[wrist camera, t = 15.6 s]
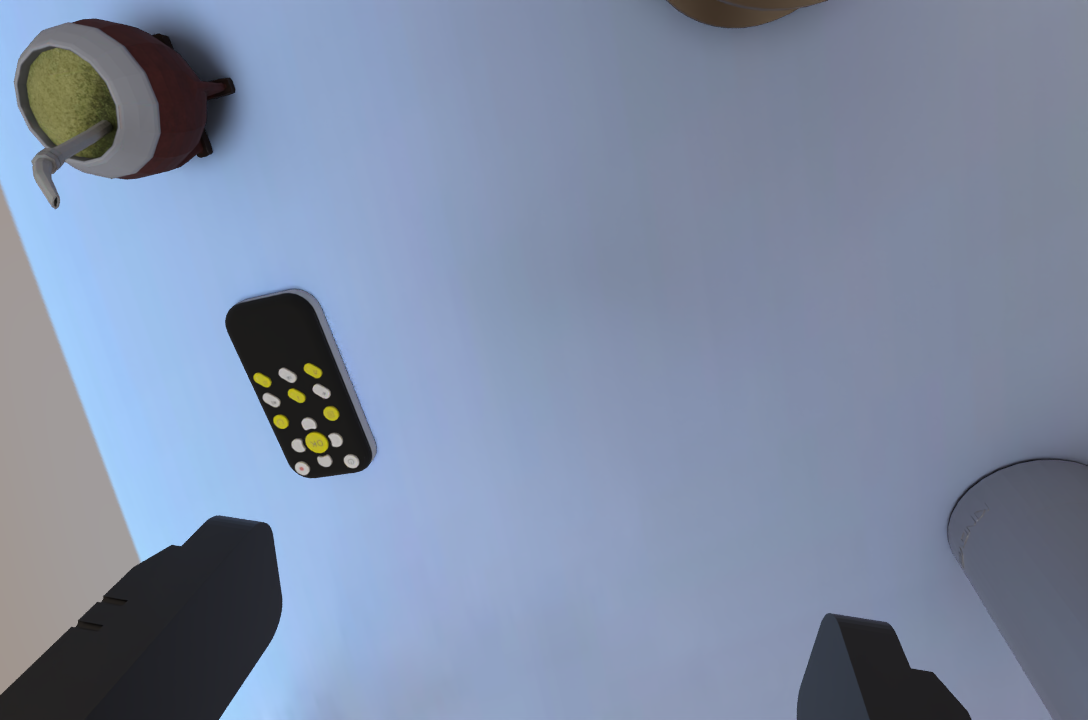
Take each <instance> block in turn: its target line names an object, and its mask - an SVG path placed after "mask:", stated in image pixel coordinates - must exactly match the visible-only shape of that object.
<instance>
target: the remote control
mask: <svg viewBox="0 0 1088 720" xmlns="http://www.w3.org/2000/svg"><path fill="white" fill-rule="evenodd" d="M225 323H226V329H227V332H228V334H229V336H230V338H231V341H232V343H233V345H234V347H235V349H236V351H237V354H238V356H239V358H240V360H241V362H242V364H243V366H244V369H245V371H246V373H247V375H248V377H249V379H250V382H251V384H252V386H253V388H254V390H255V392H256V394H257V397H258V399H259V401H260V403H261V405H262V407H263V410H264V412H265V414H266V416H267V418H268V420H269V422H270V425H271V427H272V429H273V431H274V433H275V435H276V438H277V440H278V442H279V444H280V446H281V448H282V450H283V453H284V455H285V457H286V459H287V461H288V463H289V465H290V467H291V468H292V469H293V470H294V471H295V472H296V473H297V474H299V475H301V476H303V477H307V478H320V477H327V476H334V475H341V474H348V473H356V472H359V471H362V470H364V469H365V468H367V467H368V466H369V464H370V463H371V462H372V460H373V459H374V457H375V454H376V443H375V440H374V438H373V435H372V433H371V430H370V428H369V425H368V423H367V420H366V418H365V415H364V413H363V410H362V408H361V405H360V403H359V400H358V398H357V395H356V393H355V390H354V388H353V385H352V383H351V380H350V378H349V375H348V373H347V371H346V368H345V366H344V363H343V361H342V358H341V356H340V353H339V351H338V348H337V346H336V343H335V341H334V338H333V336H332V333H331V331H330V328H329V326H328V323H327V321H326V318H325V316H324V313H323V311H322V308H321V306H320V304H319V303H318V301H317V300H316V299H315V298H314V297H313V296H312V295H310V294H309V293H307V292H305V291H303V290H297V289H293V290H286V291H282V292H277V293H273V294H268V295H264V296H259V297H255V298H250V299H246V300H244V301H241V302H239V303H237V304H236V305H234V306H233V307H232V308H231V309H230V310H229V311H228V313H227V315H226V320H225Z"/></svg>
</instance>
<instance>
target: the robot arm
mask: <svg viewBox="0 0 1088 720" xmlns="http://www.w3.org/2000/svg"><path fill="white" fill-rule="evenodd" d="M948 541H949V544H950V547H951V550H952V553H953V554H954V556H955V558H956V559H957V561H958V563H959V564H960V566H961V568H962V569H963V571H964V573H965V574H966V576H967V578H968V579H969V581H970V583H971V584H972V586H973V587H974V589H975V591H976V592H977V594H978V596H979V597H980V599H981V601H982V603H983V605H984V606H985V608H986V610H987V611H988V613H989V614H990V616H991V618H992V619H993V621H994V623H995V624H996V626H997V628H998V629H999V631H1000V633H1001V634H1002V636H1003V638H1004V639H1005V641H1006V643H1007V644H1008V646H1009V647H1010V649H1011V651H1012V652H1013V654H1014V656H1015V657H1016V659H1017V661H1018V662H1019V664H1020V666H1021V667H1022V669H1023V671H1024V672H1025V674H1026V676H1027V677H1028V679H1029V680H1030V682H1031V684H1032V685H1033V687H1034V689H1035V690H1036V692H1037V694H1038V695H1039V697H1040V699H1041V700H1042V702H1043V704H1044V705H1045V707H1046V709H1047V710H1048V712H1049V714H1050V715H1051V717H1052V718H1053V720H1088V466H1085V465H1082V464H1079V463H1076V462H1070V461H1062V460H1036V461H1031V462H1025V463H1020V464H1016V465H1013V466H1010V467H1007V468H1005V469H1002V470H999V471H997V472H995V473H993V474H992V475H990V476H988V477H986V478H984V479H982V480H981V481H980V482H979V483H977V484H976V485H975V486H973V487H972V488H971V489H970V490H969V491H968V492H967V493H966V494H965V495H964V496H963V497H962V498H961V500H960V501H959V502H958V504H957V505H956V507H955V509H954V511H953V513H952V515H951V518H950V522H949V526H948ZM281 612H282V593H281V586H280V579H279V572H278V566H277V559H276V552H275V545H274V538H273V533H272V530H271V527H270V526H269V525H268V524H267V523H264V522H258V521H252V520H245V519H239V518H232V517H226V516H220V515H219V516H214V517H212V518H210V519H208V520H207V521H206V522H205V523H204V524H203V525H202V526H201V527H200V528H199V529H198V530H197V531H196V532H195V533H194V534H193V535H192V536H191V537H190V538H189V539H188V540H187V541H186V542H185V543H184V544H183V545H182V546H175V545H171V546H169V547H167V548H166V549H164V550H162V551H160V552H159V553H157V554H155V555H154V556H152V557H150V558H148V559H147V560H145V561H143V562H142V563H140V564H138V565H136V566H135V567H133V568H132V569H131V570H130V571H129V572H128V573H127V574H126V575H125V576H124V577H123V578H122V579H121V580H120V581H119V582H118V583H117V584H116V585H114V586H113V587H112V588H111V589H110V590H109V591H108V592H107V593H106V594H105V595H104V596H103V600H102V602H97V603H96V604H95V605H94V606H93V607H92V608H91V609H90V610H89V611H87V612H86V613H85V614H84V615H83V616H82V617H81V618H80V619H79V620H78V624H77V626H76V627H71V628H70V629H69V630H68V631H67V632H66V633H65V634H63V635H62V636H61V637H60V638H59V640H57V641H56V642H55V643H54V644H53V645H52V646H51V647H50V648H49V649H48V650H47V651H46V652H45V653H44V654H43V655H42V656H41V657H40V658H39V659H38V660H36V662H34V663H33V664H32V666H30V667H29V668H28V669H27V670H26V671H25V672H24V673H23V674H22V675H21V676H20V677H19V678H18V679H17V680H16V681H15V682H14V683H13V684H12V685H10V687H8V688H7V689H6V690H5V691H4V692H3V693H2V694H1V695H0V720H219V719H220V717H221V716H222V714H223V713H224V711H225V710H226V708H227V707H228V705H229V704H230V702H231V701H232V699H233V698H234V696H235V695H236V693H237V692H238V690H239V689H240V687H241V686H242V684H243V683H244V681H245V680H246V678H247V677H248V675H249V674H250V672H251V671H252V669H253V668H254V666H255V665H256V663H257V662H258V660H259V659H260V657H261V656H262V654H263V653H264V651H265V650H266V648H267V647H268V645H269V644H270V642H271V640H272V638H273V636H274V634H275V632H276V630H277V627H278V624H279V620H280V617H281ZM797 720H971V717H970V715H969V713H968V711H967V710H966V709H965V708H964V707H963V706H962V705H961V703H960V702H959V701H958V700H957V699H956V698H955V697H954V695H953V694H952V693H951V692H950V691H949V690H948V689H947V688H946V686H945V685H944V684H943V683H942V682H941V681H940V680H939V679H938V677H937V676H936V675H935V674H934V673H933V672H929V671H923V670H917V669H911V668H910V665H909V663H908V661H907V658H906V656H905V654H904V651H903V649H902V646H901V644H900V642H899V639H898V637H897V635H896V633H895V631H894V629H893V628H892V626H891V625H890V624H889V623H887V622H882V621H876V620H869V619H863V618H856V617H850V616H844V615H837V614H831V613H828V614H826V615H825V616H824V618H823V620H822V622H821V625H820V628H819V631H818V634H817V637H816V640H815V643H814V646H813V649H812V652H811V656H810V659H809V662H808V665H807V668H806V671H805V674H804V677H803V680H802V683H801V686H800V690H799V695H798V702H797Z"/></svg>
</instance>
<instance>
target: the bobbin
mask: <svg viewBox="0 0 1088 720" xmlns="http://www.w3.org/2000/svg"><path fill="white" fill-rule="evenodd" d="M666 1H668V2H669V3H670V4H671V5H672V6H673V7H674V8H676V9H677V10H678V11H680V12H681V13H683V14H684V15H686V16H688V17H690V18H692V19H694V20H696V21H698V22H701V23H704V24H708V25H711V26H716V27H723V28H745V27H751V26H757V25H761V24H764V23H768V22H771V21H774V20H776V19H779V18H781V17H783V16H785V15H788V14H790V13H792V12H793V11H795V10H797V9H798V8H802V7H807V6H810V5H814V4H817V3H821V2H824V1H827V0H666Z"/></svg>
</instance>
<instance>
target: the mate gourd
mask: <svg viewBox="0 0 1088 720" xmlns="http://www.w3.org/2000/svg"><path fill="white" fill-rule="evenodd" d="M14 86H15V92H16V98H17V104H18V107H19V110H20V112H21V114H22V116H23V118H24V120H25V122H26V124H27V126H28V128H29V130H30V131H31V132H32V133H33V135H34V136H35V137H36V138H37V139H38V140H39V141H40V143H41V144H42V145H43V146H44V147H45V148H44V149H43V150H41V151H40V152H39V153H37V154H36V155H35V157H34V158H33V160H32V161H31V162H32V164H33V166H32V167H33V176H34V179H35V181H36V183H37V184H38V186H39V187H40V189H41V191H42V192H43V194H44V195H45V197H46V198H47V200H48V202H49V203H50V204H51V206H52V207H53V208H54V209H56V208H58V207H59V204H60V197H59V195H58V193H57V190H56V188H55V186H54V183H53V181H52V179H51V174H54V173H55V172H56V171H57V170H58V169H59V168H60V167H61V166H62V165H63V163H64V162H66V163H68V164H69V165H71V166H72V167H74V168H76V169H78V170H80V171H82V172H84V173H88V174H93V175H97V176H102V177H106V178H111V179H113V178H120V179H137V178H142V177H146V176H150V175H154V174H158V173H162V172H166V171H170V170H173V169H176V168H179V167H181V166H182V165H184V164H185V163H187V162H188V161H189V160H190V159H192V158H193V157H194V156H195V155H197V156H198V157H200V158H202V157H206V156H208V155H209V154H212V153H213V150H212V147H211V144H210V141H209V139H208V136H207V133H206V131H205V128H204V127H205V124H206V120H207V100H211V99H215V98H219V97H222V96H226V95H230V94H232V93H235V87H234V84H233V82H232V80H231V79H230V78H222V79H217V80H213V81H209V82H205V81H200V79H199V78H198V76H197V75H196V74H195V72H194V71H193V70H192V69H191V67H190V66H189V65H188V64H187V63H186V61H185V60H184V59H183V58H182V57H181V55H180V54H179V53H177V52H176V51H174V49H173V46H172V44H171V42H170V40H169V37H168V36H165V35H161V34H156V35H150V34H149V33H147V32H144V31H142V30H140V29H138V28H136V27H132V26H128V25H124V24H119V23H114V22H110V21H105V20H100V19H82V20H79V21H76V22H73V23H69V22H68V23H64V24H61V25H58V26H55V27H51V28H48V29H45V30H43V31H41V32H40V33H39V34H38V35H37V36H36V37H35V38H34V40H33V41H32V42H31V43H30V44H29V46H28V47H27V48H26V49H25V50H24V52H23V53H22V54H21V56H20V58H19V60H18V64H17V69H16V74H15V79H14Z"/></svg>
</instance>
